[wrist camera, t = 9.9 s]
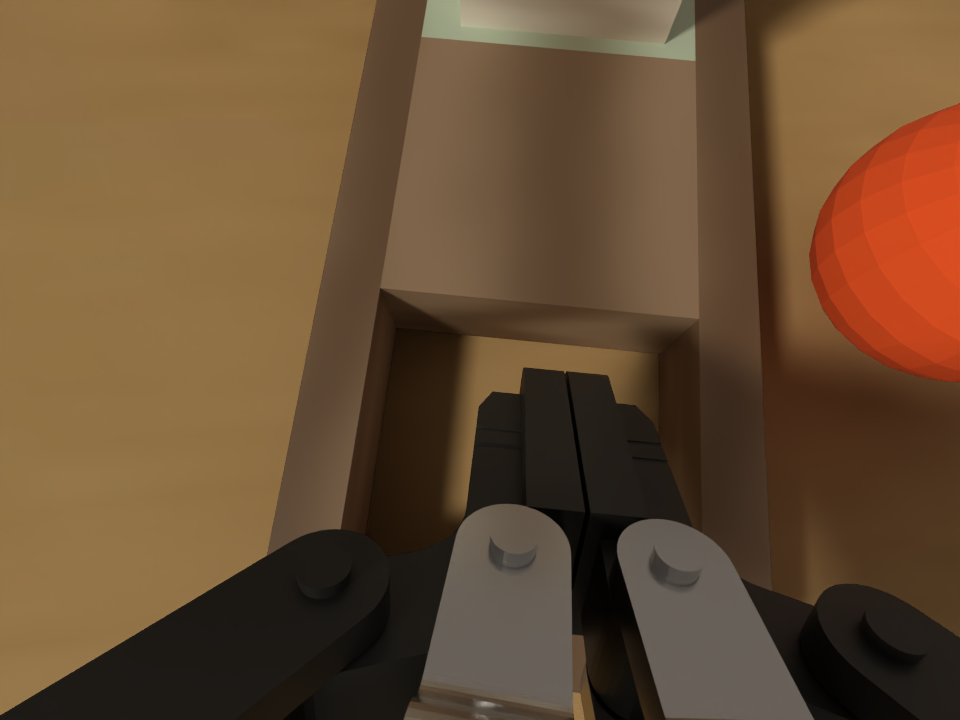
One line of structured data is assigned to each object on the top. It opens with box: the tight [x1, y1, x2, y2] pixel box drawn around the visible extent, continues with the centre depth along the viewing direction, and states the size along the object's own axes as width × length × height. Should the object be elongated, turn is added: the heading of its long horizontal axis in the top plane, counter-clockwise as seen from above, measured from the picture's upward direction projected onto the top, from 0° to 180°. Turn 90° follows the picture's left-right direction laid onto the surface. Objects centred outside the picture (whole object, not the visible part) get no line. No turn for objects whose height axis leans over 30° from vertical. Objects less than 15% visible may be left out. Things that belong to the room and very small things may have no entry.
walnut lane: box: [267, 0, 772, 693], centre depth 17 cm, size 11×30×3 cm, turn 174°
